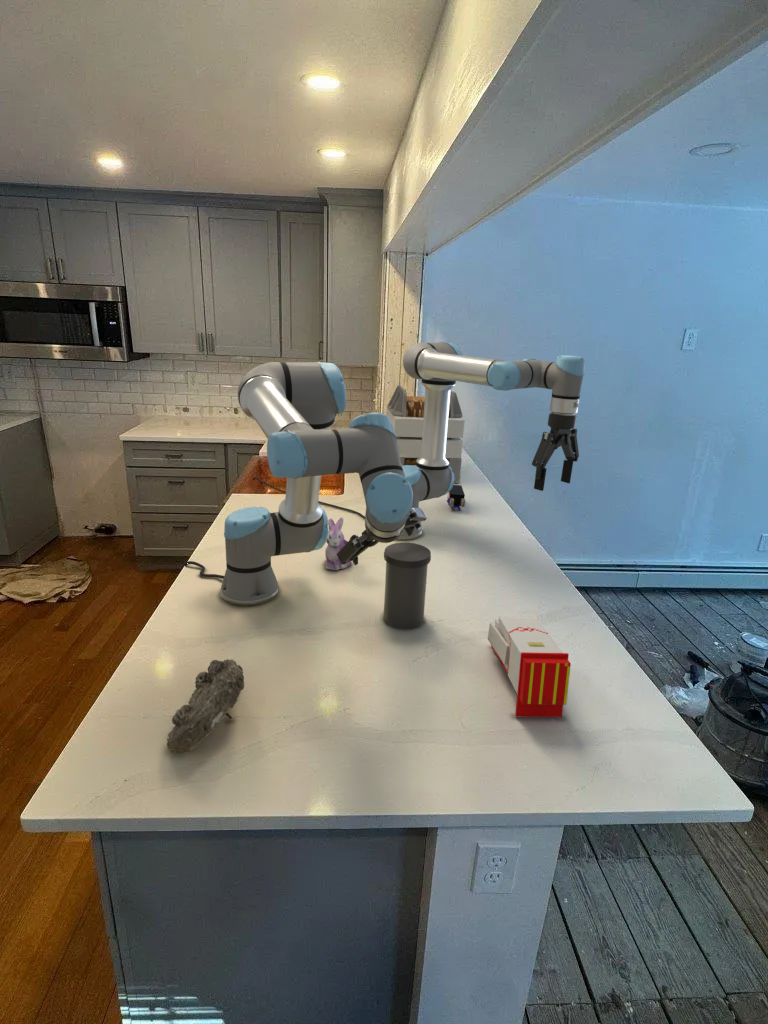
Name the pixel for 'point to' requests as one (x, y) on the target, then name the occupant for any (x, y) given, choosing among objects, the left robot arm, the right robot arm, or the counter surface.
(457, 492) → the figurine character
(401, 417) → the white slatted box
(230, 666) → the fossil
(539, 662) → the toy
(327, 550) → the figurine
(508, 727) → the counter surface
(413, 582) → the jar
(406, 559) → the lid
